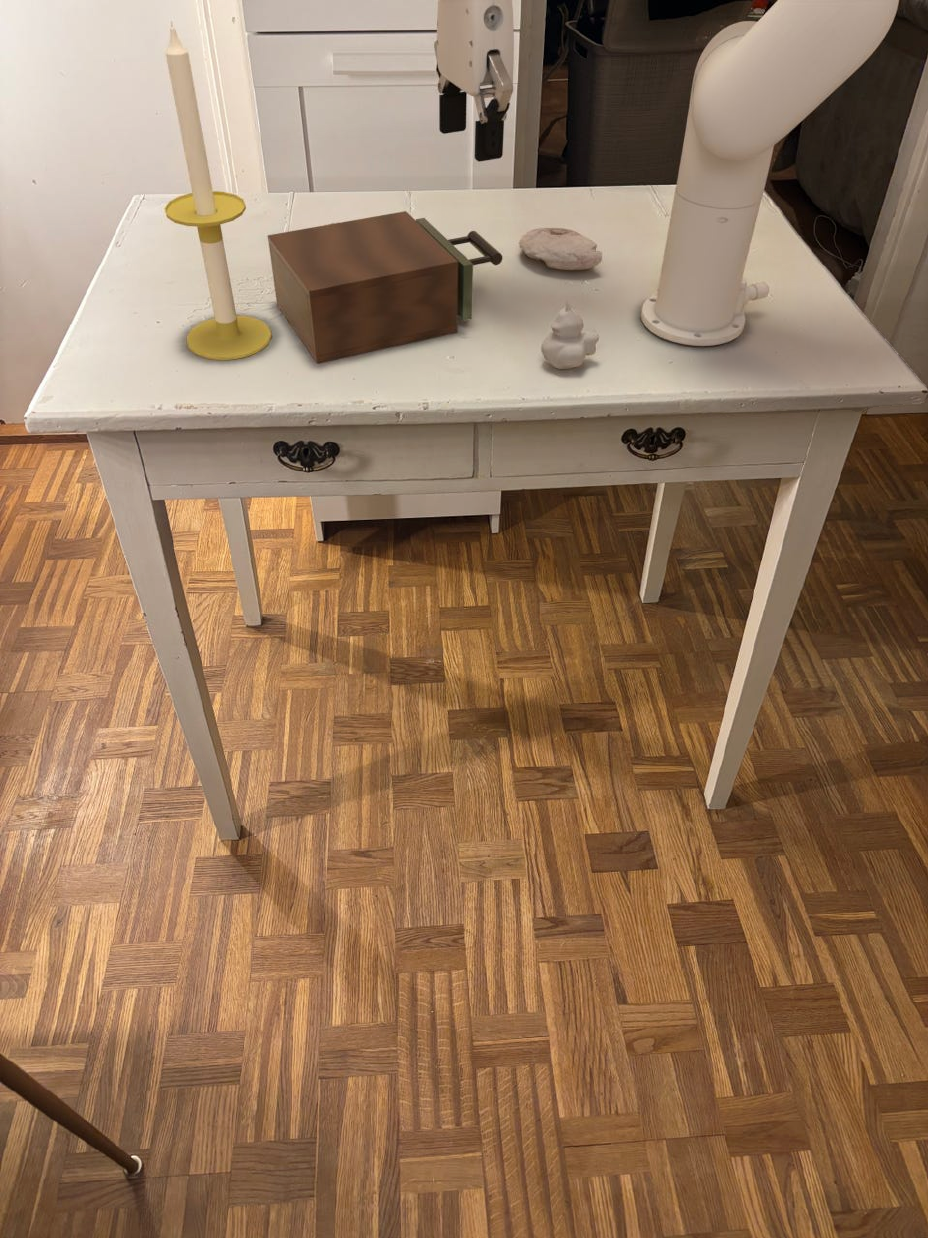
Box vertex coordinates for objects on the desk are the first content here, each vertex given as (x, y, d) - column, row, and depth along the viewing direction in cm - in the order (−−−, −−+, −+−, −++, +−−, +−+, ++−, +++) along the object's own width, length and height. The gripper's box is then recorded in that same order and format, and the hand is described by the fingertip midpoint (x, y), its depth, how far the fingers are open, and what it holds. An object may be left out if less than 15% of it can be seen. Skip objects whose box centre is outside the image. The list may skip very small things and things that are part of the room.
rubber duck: (534, 354, 108) (539, 289, 102) (588, 349, 109) (597, 285, 103) (546, 379, 105) (552, 313, 99) (602, 374, 106) (611, 308, 100)
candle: (175, 329, 111) (103, 14, 88) (254, 310, 115) (205, 2, 91) (202, 368, 105) (132, 40, 82) (284, 346, 109) (240, 27, 85)
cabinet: (408, 278, 121) (406, 210, 115) (457, 332, 112) (458, 261, 105) (276, 304, 116) (267, 234, 109) (317, 363, 106) (309, 290, 100)
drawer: (464, 262, 123) (465, 209, 118) (513, 309, 114) (517, 254, 109) (303, 294, 116) (297, 239, 111) (342, 347, 107) (337, 290, 102)
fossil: (507, 220, 125) (570, 212, 128) (504, 252, 127) (567, 243, 131) (552, 251, 117) (618, 241, 120) (548, 284, 119) (613, 273, 123)
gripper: (548, -24, 88) (535, 166, 101) (470, -59, 99) (467, 116, 111) (478, -17, 86) (473, 176, 98) (405, -54, 97) (409, 124, 109)
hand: (470, 144), depth 105 cm, fingers open, 8 cm apart
